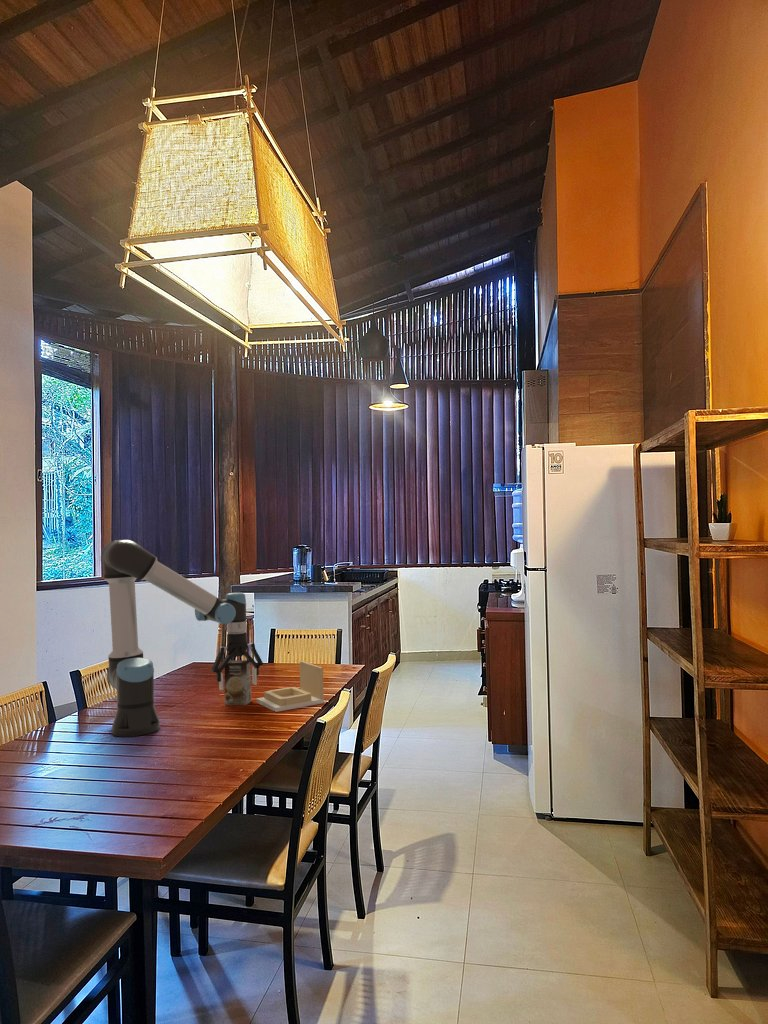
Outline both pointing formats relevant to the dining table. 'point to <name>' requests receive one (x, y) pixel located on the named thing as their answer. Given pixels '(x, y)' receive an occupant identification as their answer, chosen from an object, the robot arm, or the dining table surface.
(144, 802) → the dining table surface
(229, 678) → the coffee box
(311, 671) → the display stand
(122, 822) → the dining table surface
